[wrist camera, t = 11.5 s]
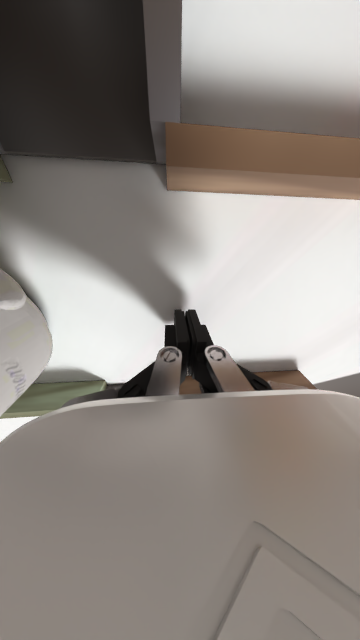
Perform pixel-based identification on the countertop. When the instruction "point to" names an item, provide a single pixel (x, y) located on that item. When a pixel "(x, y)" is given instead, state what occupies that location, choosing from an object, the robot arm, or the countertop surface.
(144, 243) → the countertop surface
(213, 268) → the countertop surface
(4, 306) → the teacup
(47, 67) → the multicolour bar frame
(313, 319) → the countertop surface
